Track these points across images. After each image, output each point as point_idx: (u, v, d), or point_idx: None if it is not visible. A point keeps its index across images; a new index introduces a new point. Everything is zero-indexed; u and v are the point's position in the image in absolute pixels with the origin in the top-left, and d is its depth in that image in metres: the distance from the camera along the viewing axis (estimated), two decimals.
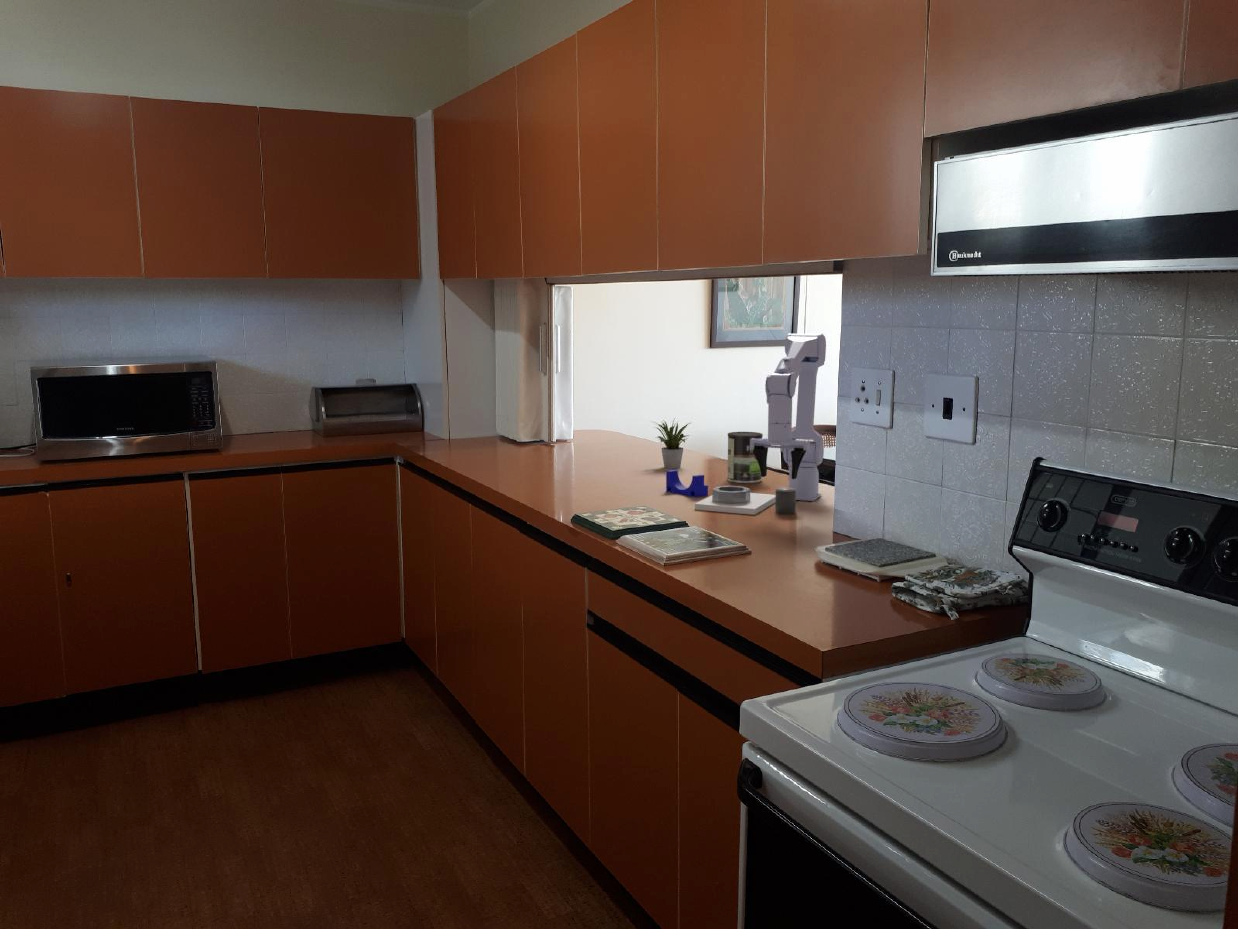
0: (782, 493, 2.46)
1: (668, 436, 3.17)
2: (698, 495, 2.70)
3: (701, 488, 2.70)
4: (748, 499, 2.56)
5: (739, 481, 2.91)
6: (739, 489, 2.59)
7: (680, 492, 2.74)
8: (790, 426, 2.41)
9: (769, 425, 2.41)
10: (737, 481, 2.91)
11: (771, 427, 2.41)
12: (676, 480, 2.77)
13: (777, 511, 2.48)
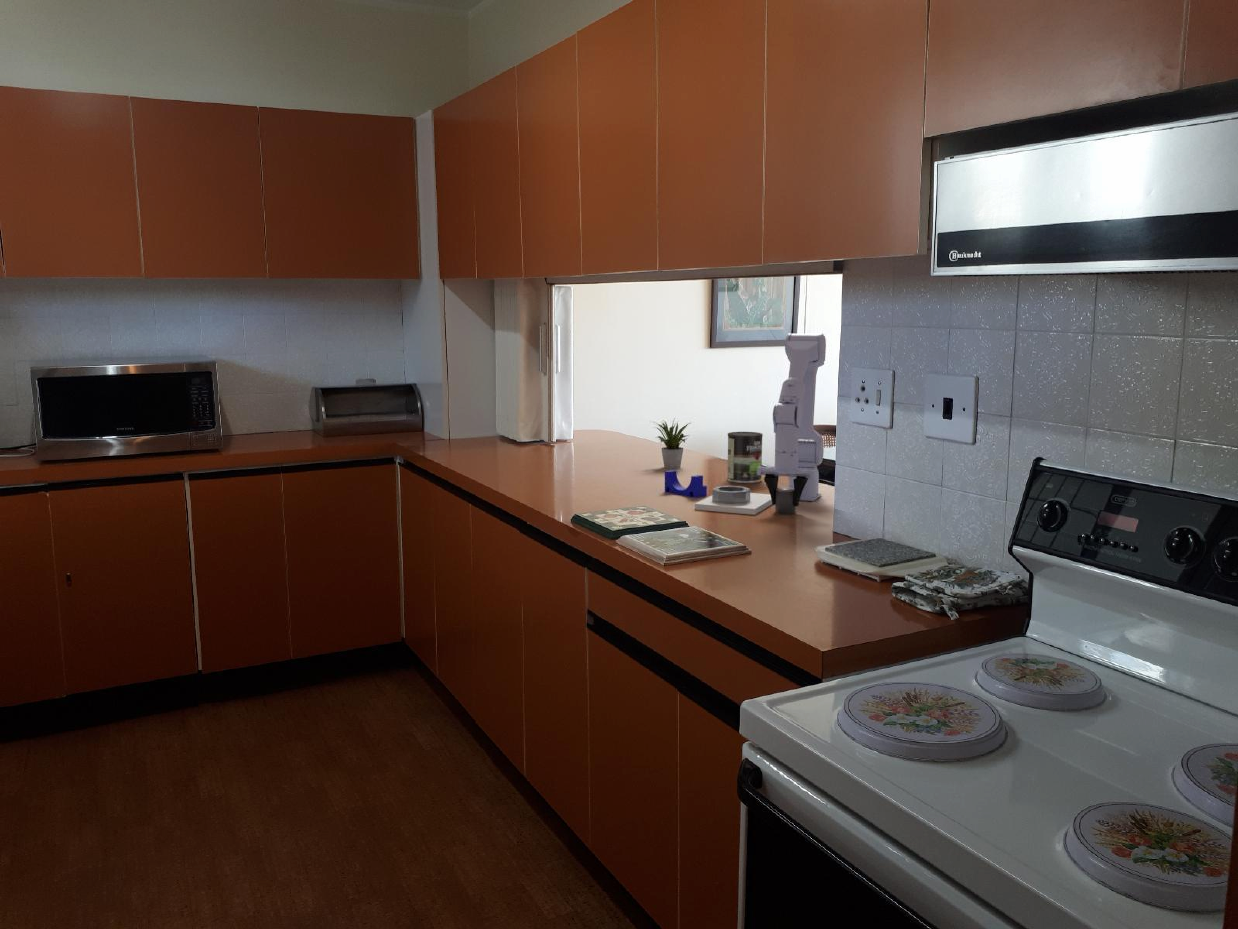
0: (782, 492, 2.46)
1: (668, 436, 3.17)
2: (697, 496, 2.69)
3: (700, 489, 2.70)
4: (748, 499, 2.56)
5: (739, 481, 2.91)
6: (739, 489, 2.59)
7: (679, 492, 2.74)
8: (797, 455, 2.46)
9: (776, 454, 2.46)
10: (737, 481, 2.91)
11: (778, 456, 2.46)
12: (674, 480, 2.77)
13: (777, 511, 2.48)
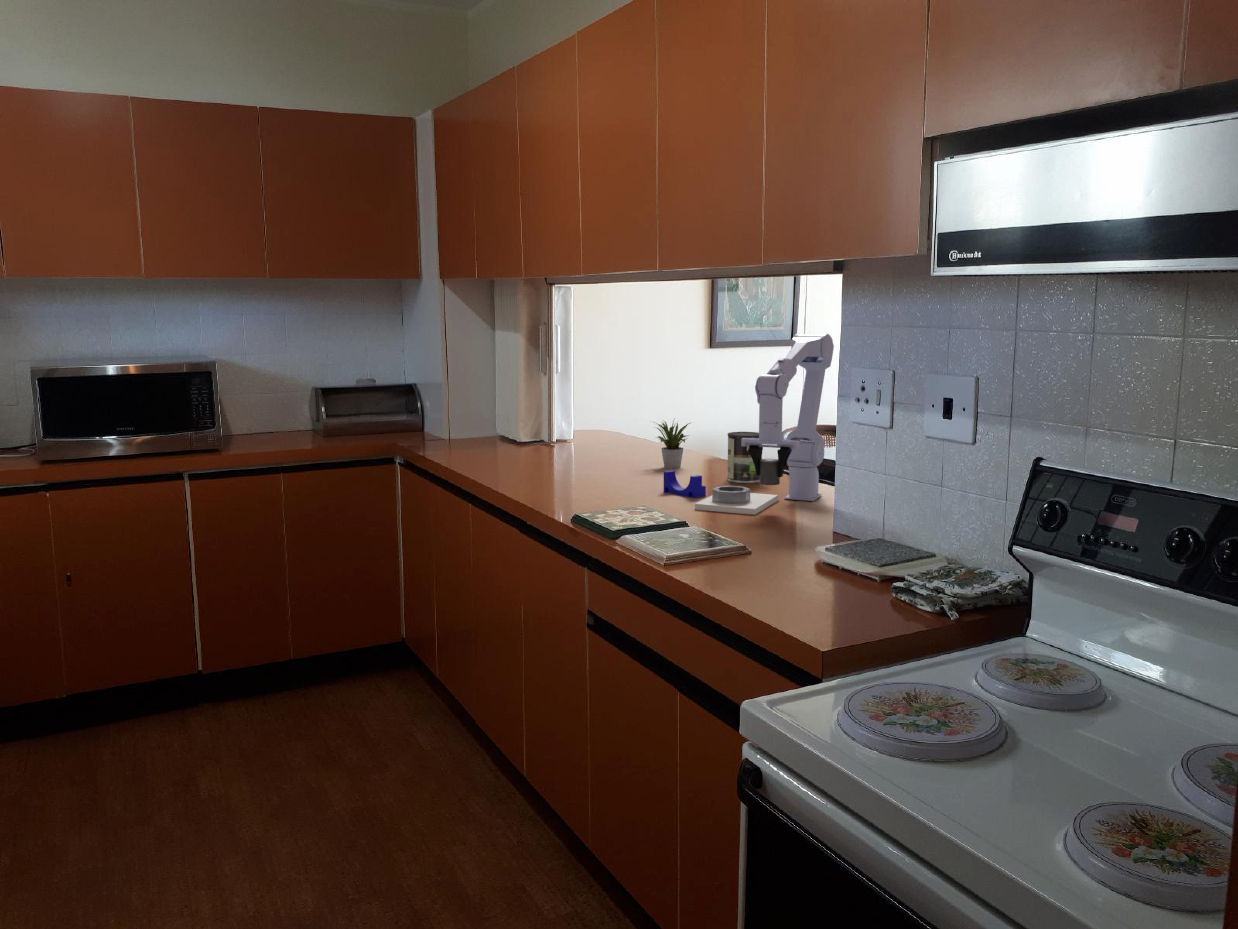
0: (766, 463, 2.48)
1: (668, 436, 3.17)
2: (696, 496, 2.69)
3: (699, 489, 2.70)
4: (748, 499, 2.56)
5: (739, 481, 2.91)
6: (739, 489, 2.59)
7: (678, 493, 2.73)
8: (780, 426, 2.47)
9: (760, 425, 2.48)
10: (737, 481, 2.91)
11: (762, 427, 2.47)
12: (673, 480, 2.76)
13: (761, 482, 2.49)
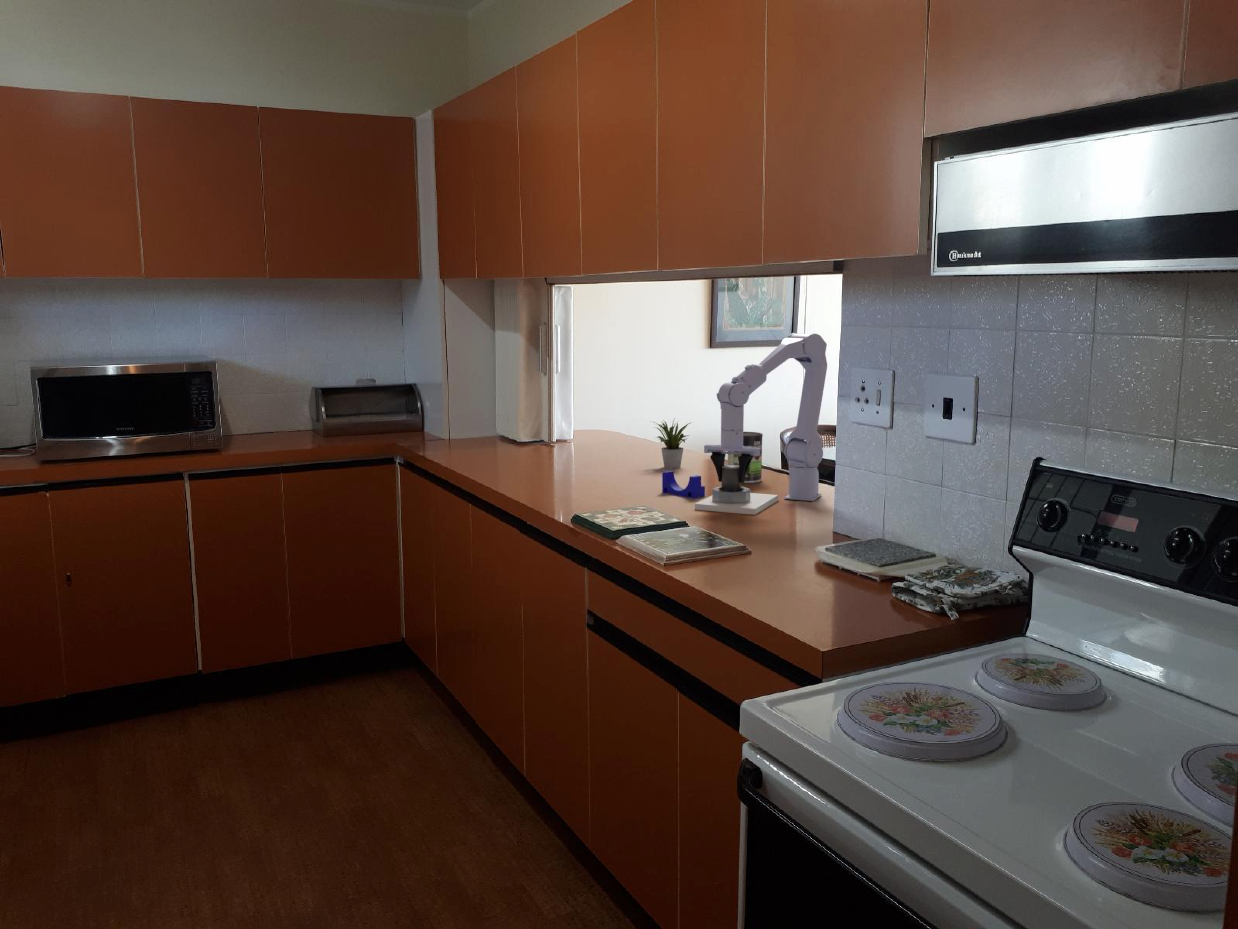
0: (727, 470, 2.54)
1: (668, 436, 3.17)
2: (695, 496, 2.69)
3: (698, 489, 2.69)
4: (748, 499, 2.56)
5: None
6: None
7: (677, 493, 2.73)
8: (741, 433, 2.53)
9: (722, 432, 2.54)
10: None
11: (723, 434, 2.53)
12: (672, 481, 2.76)
13: (723, 488, 2.56)
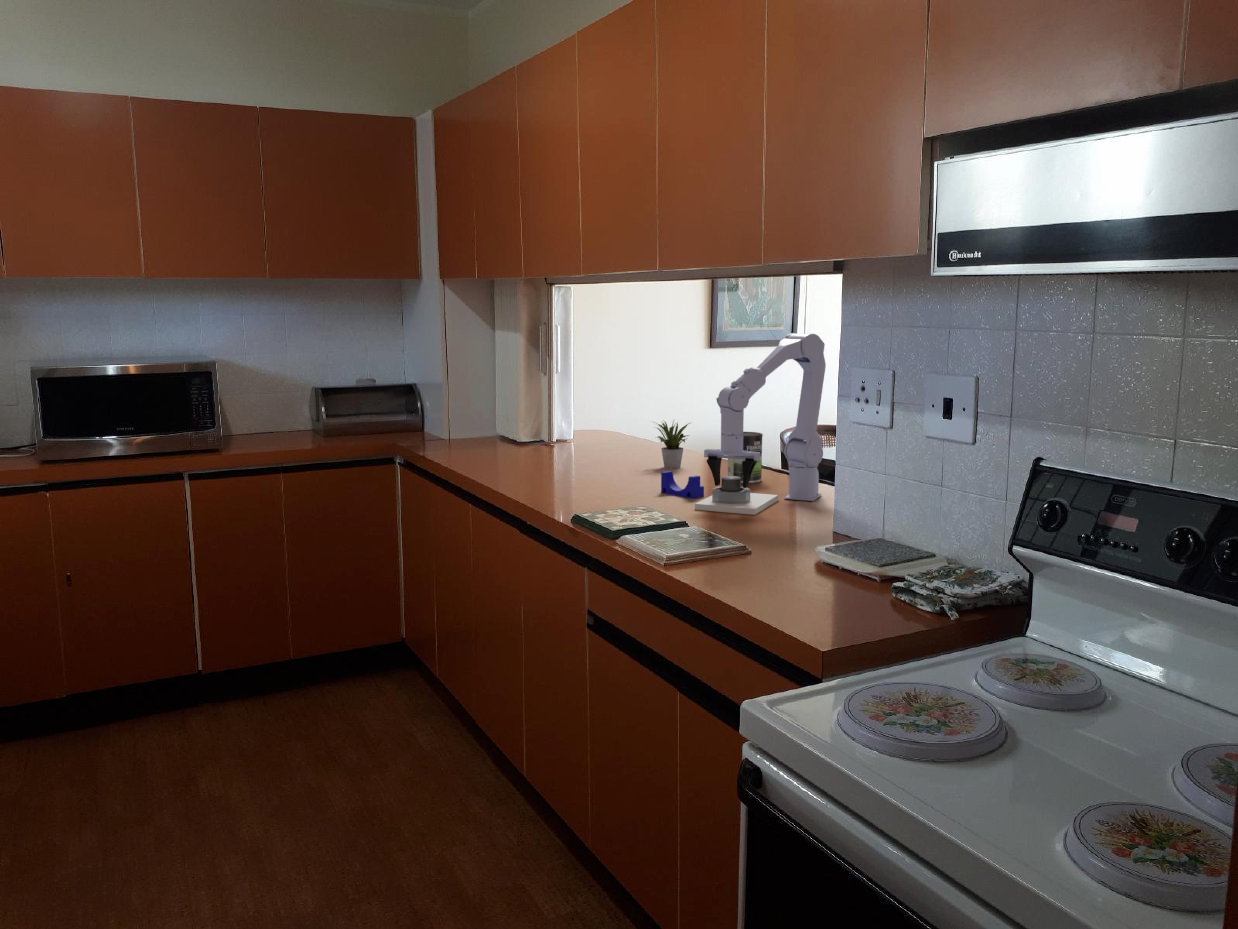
0: (727, 481, 2.54)
1: (668, 436, 3.17)
2: (694, 496, 2.68)
3: (697, 490, 2.69)
4: (748, 499, 2.56)
5: None
6: None
7: (676, 493, 2.72)
8: (741, 437, 2.53)
9: (722, 436, 2.54)
10: None
11: (723, 439, 2.53)
12: (671, 481, 2.76)
13: None
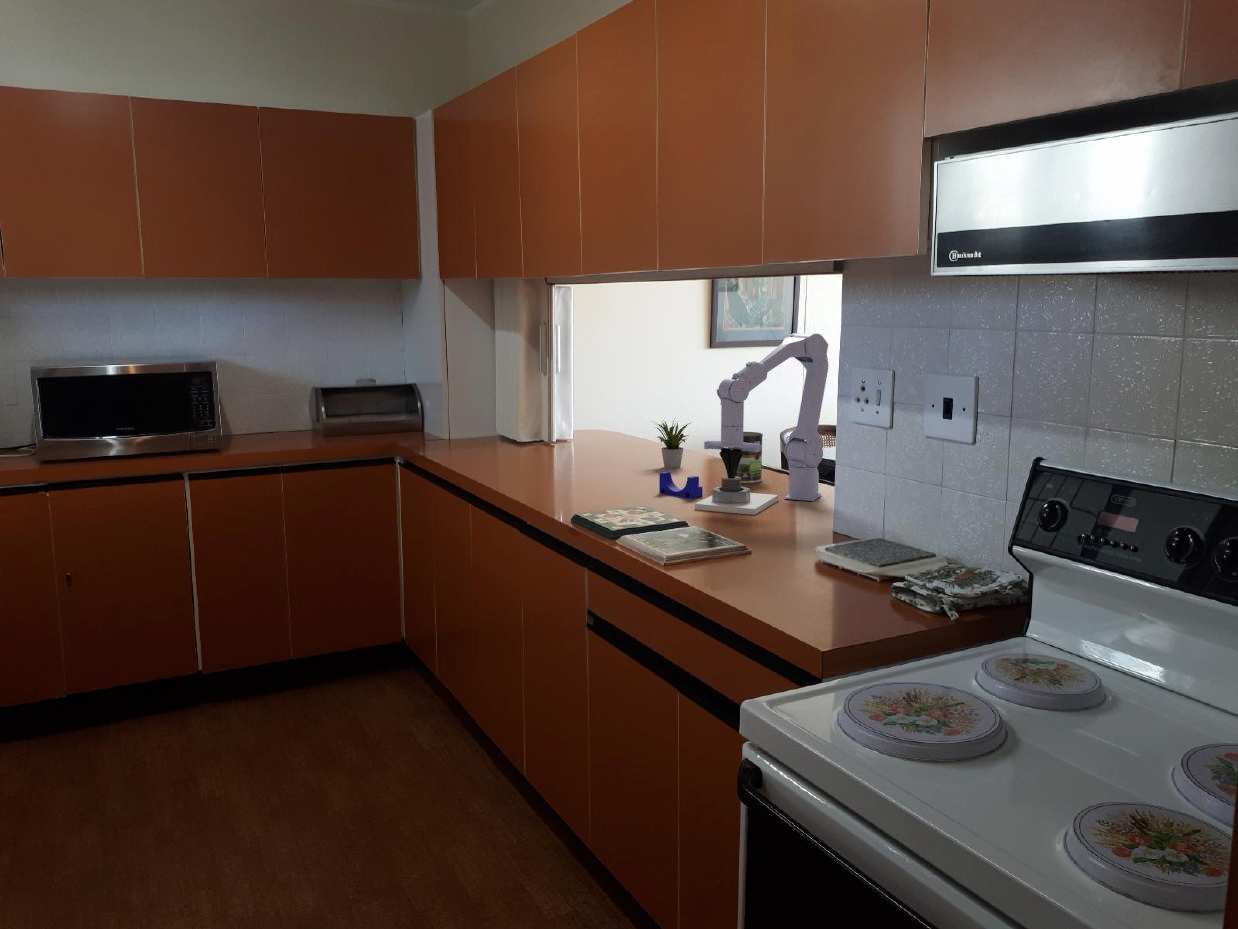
0: (727, 481, 2.54)
1: (668, 436, 3.17)
2: (693, 497, 2.68)
3: (696, 490, 2.68)
4: (748, 499, 2.56)
5: None
6: None
7: (674, 494, 2.72)
8: (742, 429, 2.53)
9: (722, 428, 2.54)
10: None
11: (723, 430, 2.53)
12: (669, 481, 2.75)
13: None
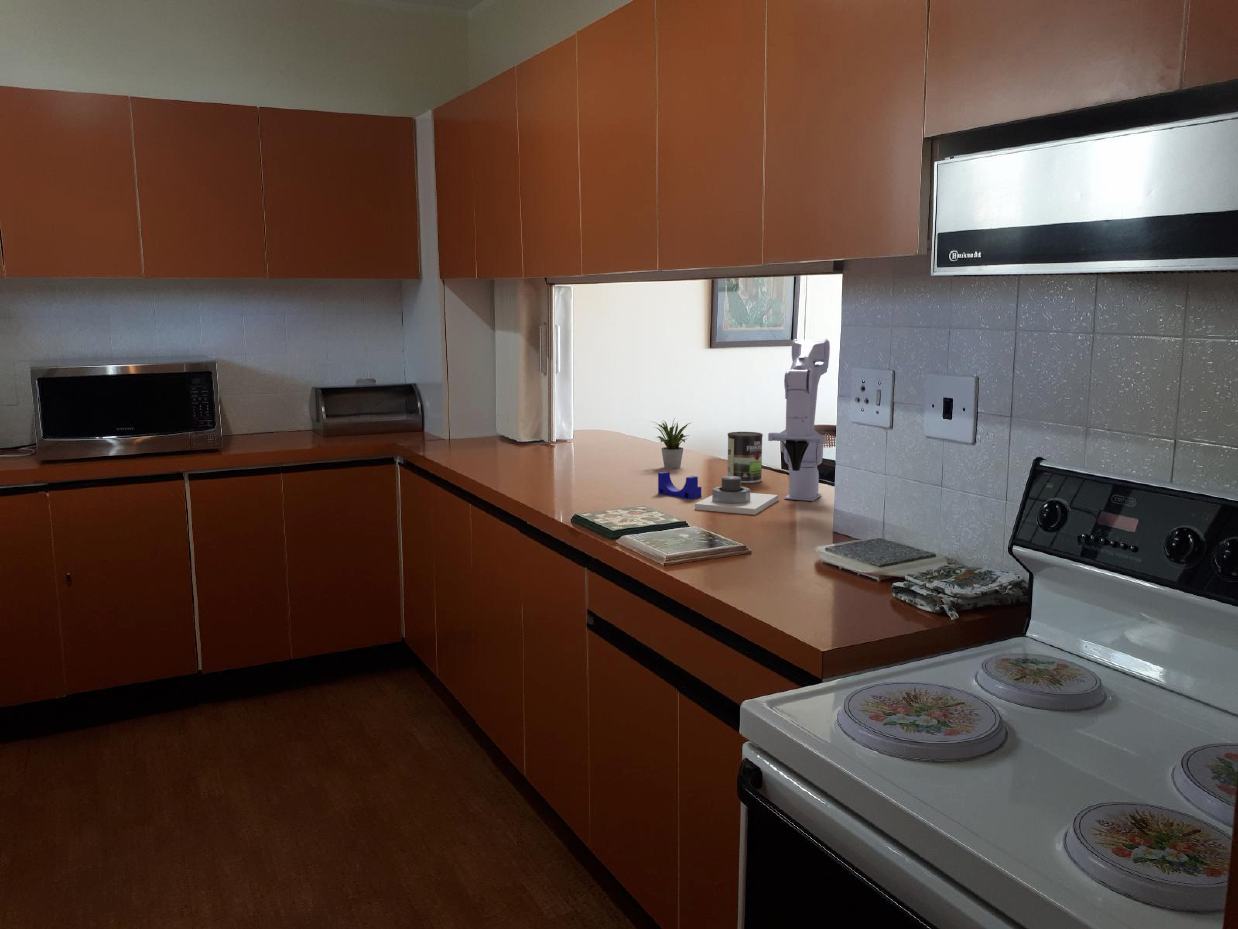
0: (727, 481, 2.54)
1: (668, 436, 3.17)
2: (692, 497, 2.67)
3: (695, 490, 2.68)
4: (748, 499, 2.56)
5: None
6: None
7: (673, 494, 2.71)
8: (807, 420, 2.49)
9: (787, 419, 2.50)
10: None
11: (789, 422, 2.49)
12: (668, 482, 2.74)
13: None
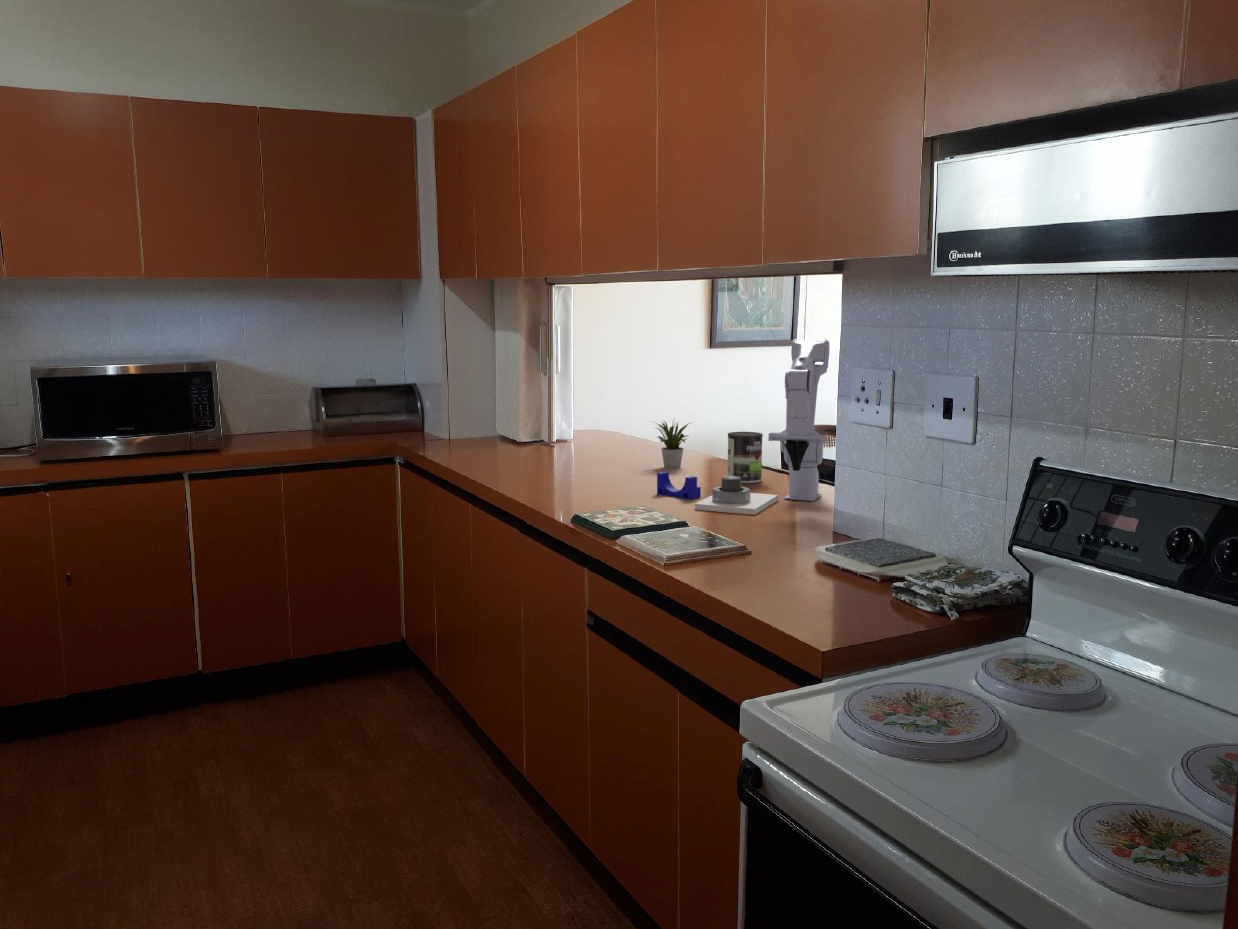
0: (727, 481, 2.54)
1: (668, 436, 3.17)
2: (691, 497, 2.67)
3: (694, 490, 2.68)
4: (748, 499, 2.56)
5: None
6: None
7: (672, 494, 2.71)
8: (808, 420, 2.49)
9: (787, 419, 2.50)
10: None
11: (789, 421, 2.49)
12: (667, 482, 2.74)
13: None
